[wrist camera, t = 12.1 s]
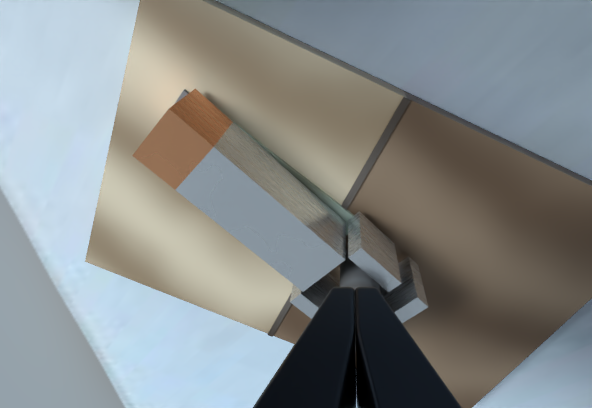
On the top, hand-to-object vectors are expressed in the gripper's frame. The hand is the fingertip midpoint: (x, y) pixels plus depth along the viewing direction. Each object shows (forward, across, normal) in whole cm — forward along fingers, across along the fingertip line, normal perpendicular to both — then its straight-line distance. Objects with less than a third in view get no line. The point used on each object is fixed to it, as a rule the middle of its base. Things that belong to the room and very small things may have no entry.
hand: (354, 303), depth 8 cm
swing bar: (+10, +3, +4) cm, 11 cm away
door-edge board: (+12, +1, +6) cm, 13 cm away
